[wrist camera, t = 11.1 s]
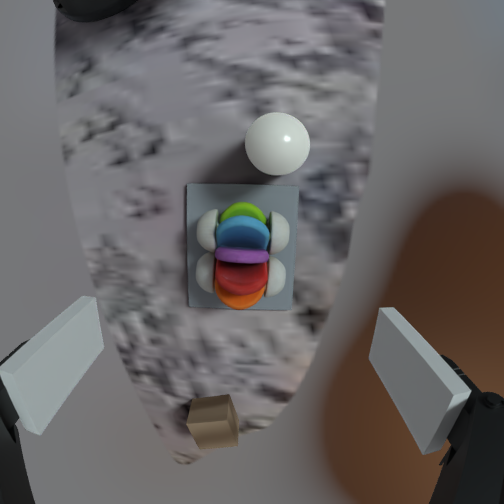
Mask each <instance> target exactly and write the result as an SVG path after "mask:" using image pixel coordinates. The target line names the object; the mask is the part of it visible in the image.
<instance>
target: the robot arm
mask: <svg viewBox="0 0 504 504" xmlns="http://www.w3.org/2000/svg"><path fill="white" fill-rule="evenodd" d="M136 1H138V0H53V2H54V4H55V6H56V8H57V9H58V10H59V11H60V12H61V13H62V14H64V15H65V16H66V17H67V18H69V19H71V20H73V21H78V22H91V21H96V20H100V19H103V18H106V17H109V16H111V15H114V14H116V13H118V12H120V11H122V10H124V9H125V8H127V7H129V6H130V5H132V4H133V3H135V2H136ZM103 349H104V344H103V339H102V333H101V328H100V323H99V316H98V309H97V303H96V297H88V296H82V297H81V298H79V299H78V300H77V301H75V302H74V303H73V304H72V305H71V306H69V307H68V308H67V309H66V310H65V311H63V312H62V313H61V314H60V315H58V316H57V317H56V318H55V319H54V320H52V321H51V322H50V323H49V324H48V325H47V326H45V327H44V328H43V329H42V330H41V331H39V332H38V333H37V334H36V335H35V336H34V337H33V338H31V339H29V340H27V341H25V342H23V343H21V344H20V345H19V346H18V347H17V348H16V349H15V350H14V351H12V352H11V353H10V354H9V356H7V357H5V358H4V359H3V360H2V361H1V362H0V504H35V501H34V498H33V495H32V491H31V488H30V484H29V480H28V476H27V472H26V468H25V463H24V459H23V454H22V449H21V444H20V438H19V432H18V429H17V427H16V425H15V423H16V422H17V420H18V419H20V420H21V422H22V424H23V426H24V428H25V430H27V431H30V432H33V433H35V434H38V435H41V434H42V433H43V431H44V430H45V428H46V427H47V425H48V424H49V422H50V421H51V420H52V418H53V417H54V415H55V414H56V412H57V411H58V410H59V408H60V406H61V405H62V404H63V402H64V401H65V400H66V398H67V397H68V396H69V394H70V393H71V391H72V390H73V388H74V387H75V386H76V385H77V383H78V382H79V381H80V379H81V378H82V376H83V375H84V374H85V372H86V371H87V370H88V368H89V367H90V366H91V364H92V363H93V362H94V360H95V359H96V358H97V357H98V355H99V354H100V353H101V351H102V350H103ZM369 360H370V362H371V363H372V365H373V367H374V369H375V370H376V372H377V374H378V375H379V377H380V379H381V381H382V382H383V384H384V386H385V387H386V389H387V391H388V393H389V394H390V396H391V398H392V400H393V401H394V403H395V405H396V407H397V408H398V410H399V412H400V414H401V416H402V417H403V419H404V421H405V423H406V424H407V426H408V428H409V430H410V432H411V434H412V435H413V437H414V439H415V441H416V443H417V445H418V447H419V448H420V450H421V452H422V454H423V455H424V454H428V453H432V452H435V451H438V450H440V449H441V448H442V446H443V444H444V443H445V441H446V439H448V440H449V442H450V444H451V446H450V448H449V450H448V451H447V453H446V454H445V456H444V457H443V459H442V461H441V462H440V464H439V465H442V464H443V462H444V464H443V467H442V470H441V473H440V476H439V478H438V482H437V484H436V487H435V489H434V492H433V494H432V497H431V500H430V502H429V504H504V398H503V397H501V396H500V395H499V394H496V393H493V392H483V393H482V392H481V391H480V390H479V389H478V388H477V386H476V385H475V384H474V383H473V382H472V381H471V380H470V379H469V378H468V377H467V376H466V375H464V372H463V371H462V370H461V369H459V367H458V366H457V365H456V364H455V363H454V362H453V361H452V360H451V359H449V358H447V357H446V356H444V355H439V354H438V353H437V352H436V351H435V350H434V349H433V348H432V347H431V346H430V345H429V343H427V341H426V340H425V339H424V338H423V337H422V336H421V335H420V334H419V333H418V332H417V331H416V330H415V329H414V328H413V327H412V326H411V325H410V324H409V323H408V322H407V321H406V320H405V318H403V316H402V315H401V314H400V313H398V311H397V310H396V309H395V308H379V313H378V318H377V323H376V328H375V332H374V337H373V342H372V346H371V350H370V355H369Z"/></svg>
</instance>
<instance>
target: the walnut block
mask: <svg viewBox="0 0 504 504" xmlns="http://www.w3.org/2000/svg"><path fill="white" fill-rule="evenodd" d="M186 425H187V427H188V429H189V430H190V432H191V434H192V436H193V438H194V440H195V442H196V444H197V446H198V447H199V449H212V448H223V447H233V446H238V430H239V419H238V416H237V414H236V411H235V408H234V406H233V403H232V400H231V397H230V395H229V394H227V395H220V396H213V397H205V398H196V399H192V402H191V406H190V410H189V415H188V419H187V423H186Z"/></svg>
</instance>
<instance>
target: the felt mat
mask: <svg viewBox="0 0 504 504" xmlns="http://www.w3.org/2000/svg"><path fill="white" fill-rule="evenodd" d="M298 199H299V186H282V185H256V184H187V264H188V295H189V307H202V308H225V309H232V308H230V307H228V306H227V305H225V304H224V303H223V302H222V301H221V300H220V299H219V297H218V296H217V294H216V291H215V290H214V293H210V292H207V291H205V290H204V289H202V288H201V287H200V286H199V284H198V283H197V281H196V267H197V262H198V260H199V259H200V258H201V257H202V256H203V255H204V254H206V253H208V252H210V251H208V250H206V249H204V248H203V247H202V246H201V245H200V243H199V242H198V240H197V223H198V220H199V218H200V217H201V216H202V215H203V214H204V213H206V212H207V211H210V210H213V209H217V210H218V212H219V219H220V216H221V214H222V213H223V212H224V211H225V209H226V208H228V207H229V206H230V205H232V204H234V203H237V202H248V203H251V204H253V205H255V206H256V207H258V208H259V209H260V210H261V211H262V213H263V214H264V215H265V217H266V219H267V225H266V227H267V228H268V219H269V214H270V212H271V211H273V212H277V213H279V214H281V215H282V216H283V217H284V218H285V219H286V220H287V222H288V224H289V229H290V234H289V242H288V244H287V246H286V247H285V248H284V249H283V250H282V251H280V252H279V253H276V254H273V255H269V256H272V257H275V258H277V259H278V260H279V261H281V263H282V264H283V265H284V267H285V270H286V279H285V285H284V288H283V289H282V290H281V291H280V292H279V293H278V294H277V295H275V296H272V297H268V298H266V297H264V294H263V295H262V297H261V299H260V300H259V301H258V302H257V303H256V304H255V305H253V306H251V307H250V308H247V309H258V310H291V308H292V295H293V282H294V268H295V253H296V237H297V219H298Z"/></svg>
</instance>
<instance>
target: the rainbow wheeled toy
mask: <svg viewBox="0 0 504 504" xmlns="http://www.w3.org/2000/svg"><path fill="white" fill-rule="evenodd" d="M266 225H267V219H266V217H265V215H264V214H263V213H262V211H261V210H260V209H259V208H258V207H256V206H255V205H253V204H251V203H248V202H237V203H234V204H232V205H230V206H229V207H228V208H226V209H225V211H224V212H223V213H222V214H221V216H220V219H219V212H218V210H217V209H213V210H210V211H207V212H206V213H204V214H203V215H202V216H201V217H200V218H199V220H198V223H197V240H198V242H199V243H200V245H201V246H202V247H203V248H204V249H206V250H208V251H210V252H208V253H206V254H204V255H203V256H202V257H201V258H200V259H199V260H198V262H197V267H196V281H197V283H198V284H199V286H200V287H201V288H202V289H204V290H205V291H207V292H210V293H214V290H215V291H216V294H217V296H218V297H219V299H220V300H221V301H222V302H223V303H224V304H225V305H227V306H228V307H230V308H232V309H236V310H243V309H247V308H250V307H251V306H253V305H255V304H256V303H257V302H258V301H259V300H260V299H261V297H262V295H263V294H264V297H266V298H268V297H272V296H275V295H277V294H278V293H279V292H280V291H281V290H282V289H283V288H284V285H285V279H286V270H285V267H284V265H283V264H282V263H281V261H279V260H278V259H277V258H275V257H272V256H269V255H273V254H276V253H279V252H280V251H282V250H283V249H284V248H285V247H286V246H287V244H288V242H289V234H290V229H289V224H288V222H287V220H286V219H285V218H284V217H283V216H282V215H281V214H279V213H277V212H273V211H271V212H270V214H269V219H268V228H267V227H266Z"/></svg>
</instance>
